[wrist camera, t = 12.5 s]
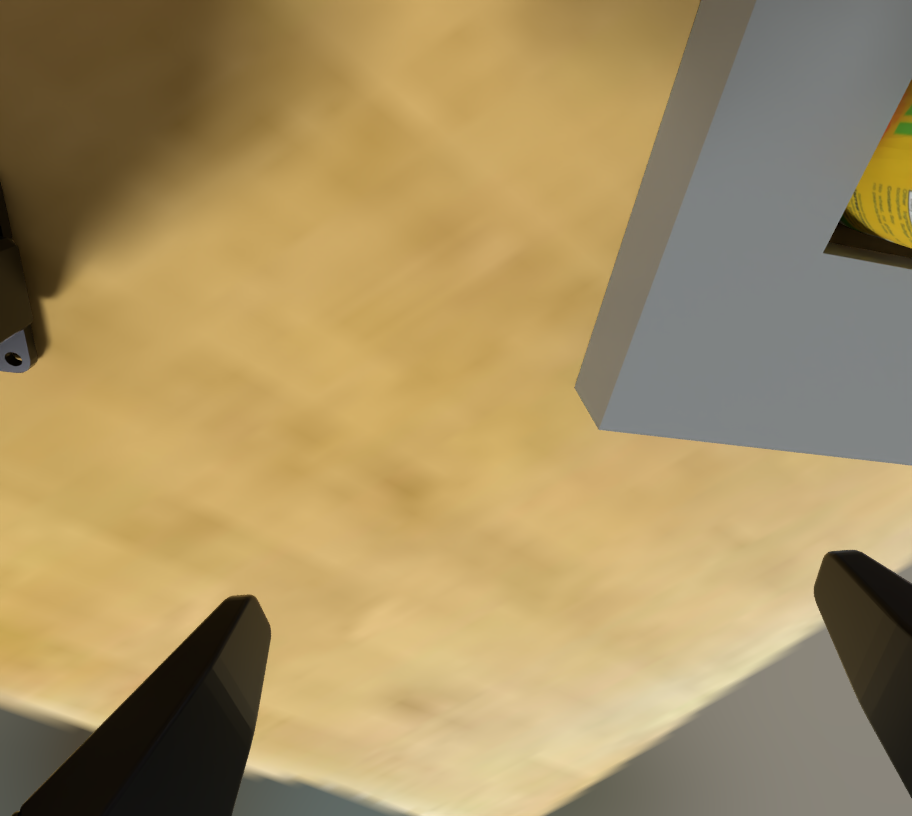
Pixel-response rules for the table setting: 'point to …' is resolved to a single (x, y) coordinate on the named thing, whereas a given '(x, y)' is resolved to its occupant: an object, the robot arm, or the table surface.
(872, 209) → the supplement bottle
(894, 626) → the robot arm
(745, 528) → the table surface
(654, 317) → the holder
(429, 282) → the table surface
